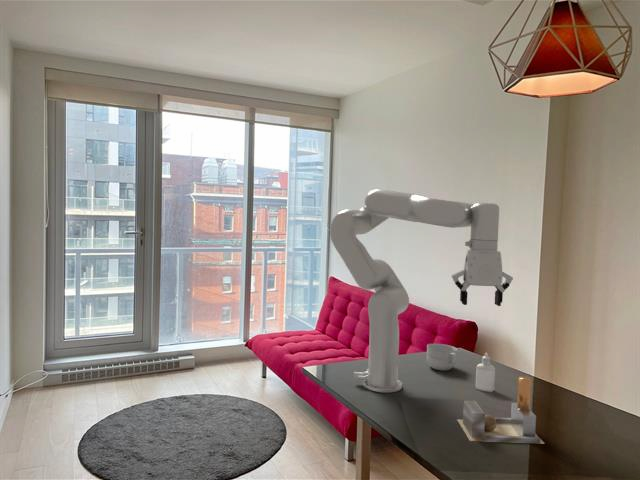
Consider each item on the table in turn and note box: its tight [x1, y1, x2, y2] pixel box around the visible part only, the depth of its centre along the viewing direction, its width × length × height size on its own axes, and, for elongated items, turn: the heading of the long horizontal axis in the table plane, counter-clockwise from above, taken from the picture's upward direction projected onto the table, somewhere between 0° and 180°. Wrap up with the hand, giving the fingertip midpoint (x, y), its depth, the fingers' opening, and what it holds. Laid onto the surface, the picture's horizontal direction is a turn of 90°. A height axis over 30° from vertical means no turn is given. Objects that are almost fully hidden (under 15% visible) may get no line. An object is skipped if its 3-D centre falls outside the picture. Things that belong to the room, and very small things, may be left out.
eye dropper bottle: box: [475, 352, 496, 393], centre depth 155 cm, size 4×6×12 cm
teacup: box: [426, 343, 459, 371], centre depth 174 cm, size 14×11×8 cm
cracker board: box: [456, 400, 545, 445], centre depth 122 cm, size 18×12×8 cm, turn 89°
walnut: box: [484, 414, 497, 431], centre depth 123 cm, size 4×4×4 cm
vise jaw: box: [510, 375, 537, 437], centre depth 122 cm, size 3×8×14 cm, turn 179°
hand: (480, 304), depth 140 cm, fingers open, 9 cm apart
